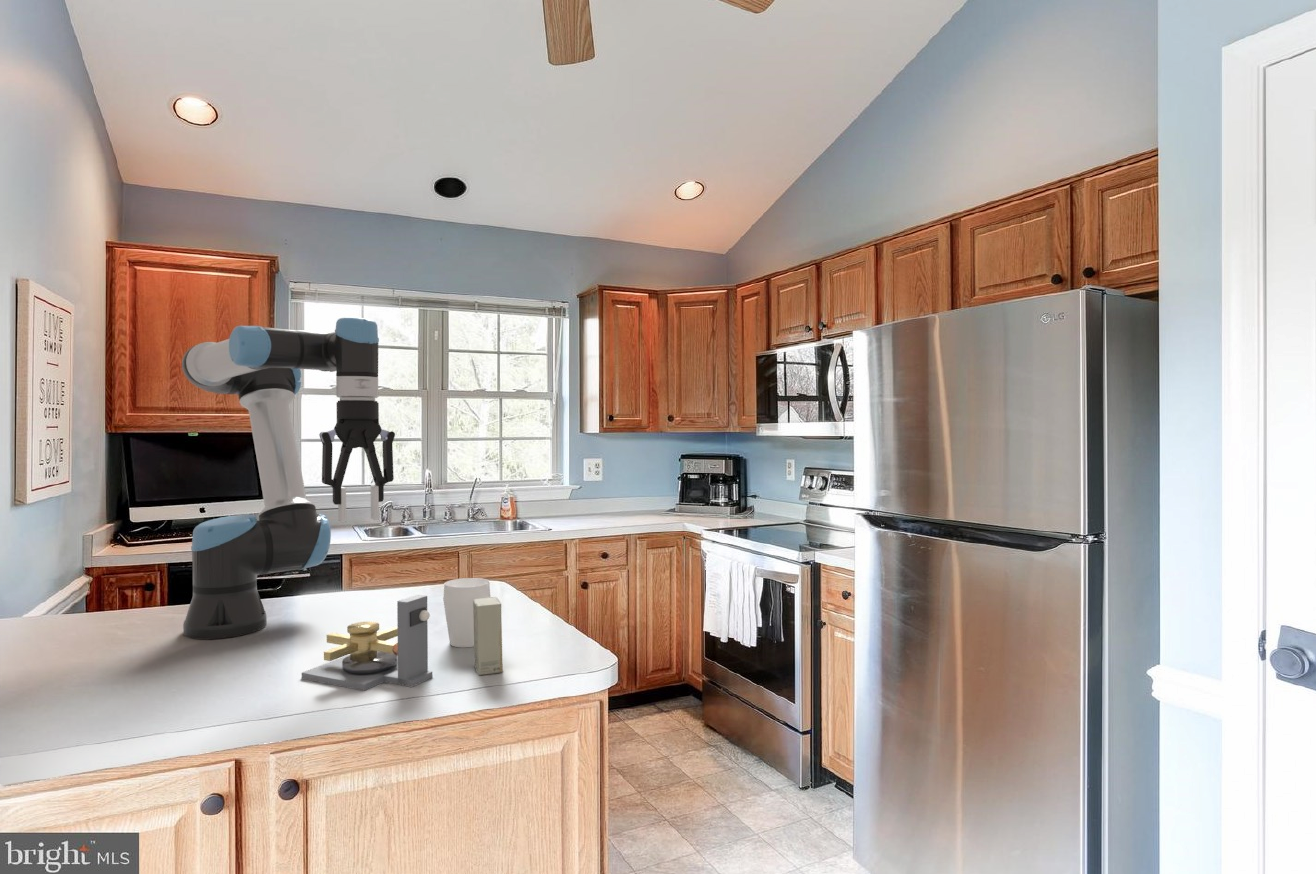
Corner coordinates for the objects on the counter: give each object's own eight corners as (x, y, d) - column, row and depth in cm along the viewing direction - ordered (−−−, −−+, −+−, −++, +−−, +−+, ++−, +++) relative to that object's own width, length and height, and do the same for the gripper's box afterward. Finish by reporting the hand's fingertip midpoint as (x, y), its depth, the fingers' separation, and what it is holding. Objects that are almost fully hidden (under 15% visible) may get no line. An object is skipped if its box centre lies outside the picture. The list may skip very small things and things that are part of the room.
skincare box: (503, 673, 132) (502, 604, 131) (477, 676, 130) (476, 606, 130) (497, 662, 137) (497, 596, 137) (472, 664, 136) (472, 597, 136)
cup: (478, 651, 144) (478, 588, 143) (435, 648, 145) (434, 586, 145) (497, 637, 152) (497, 578, 152) (456, 634, 154) (456, 576, 154)
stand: (301, 678, 129) (300, 597, 128) (363, 654, 141) (363, 580, 141) (394, 696, 120) (394, 609, 120) (451, 669, 133) (451, 591, 133)
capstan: (292, 671, 128) (291, 632, 128) (363, 645, 143) (363, 610, 142) (369, 686, 121) (368, 644, 121) (435, 657, 136) (435, 620, 136)
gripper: (310, 398, 136) (311, 526, 137) (411, 399, 147) (412, 518, 147) (301, 399, 142) (303, 521, 143) (399, 400, 153) (400, 514, 153)
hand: (358, 520), depth 145 cm, fingers open, 5 cm apart
